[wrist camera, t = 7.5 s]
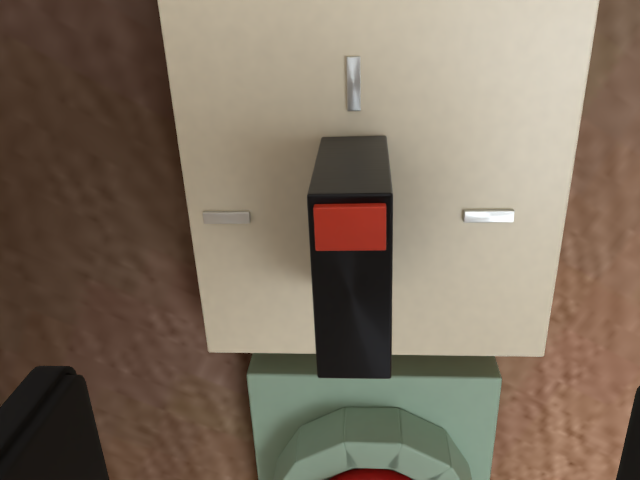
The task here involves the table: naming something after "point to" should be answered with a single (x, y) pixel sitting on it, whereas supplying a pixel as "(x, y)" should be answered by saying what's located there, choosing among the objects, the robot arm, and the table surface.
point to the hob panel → (404, 155)
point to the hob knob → (352, 257)
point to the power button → (370, 475)
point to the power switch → (374, 418)
